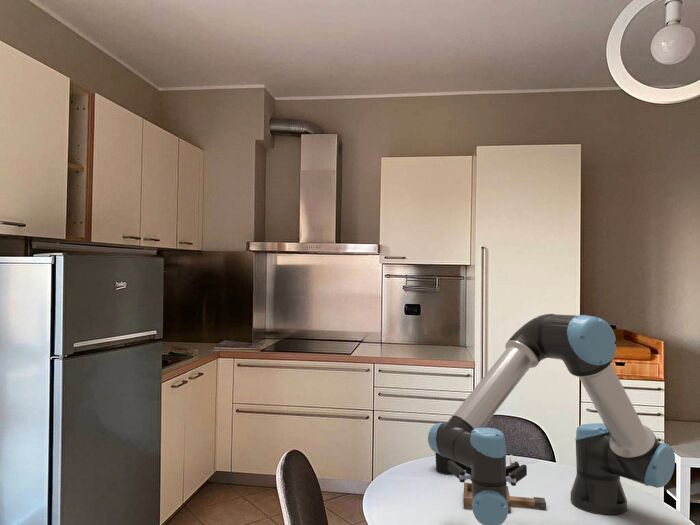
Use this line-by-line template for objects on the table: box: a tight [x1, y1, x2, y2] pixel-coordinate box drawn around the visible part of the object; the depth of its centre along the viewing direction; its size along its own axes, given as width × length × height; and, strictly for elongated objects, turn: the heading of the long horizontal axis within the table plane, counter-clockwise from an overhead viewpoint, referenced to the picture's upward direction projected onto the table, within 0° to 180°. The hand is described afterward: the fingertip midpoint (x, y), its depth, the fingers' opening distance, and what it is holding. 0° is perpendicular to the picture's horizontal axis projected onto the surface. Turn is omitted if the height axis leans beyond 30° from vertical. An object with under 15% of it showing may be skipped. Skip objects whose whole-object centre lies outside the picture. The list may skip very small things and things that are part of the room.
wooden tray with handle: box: [463, 482, 547, 514], centre depth 158 cm, size 23×13×3 cm, turn 77°
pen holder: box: [434, 452, 455, 475], centre depth 187 cm, size 9×9×10 cm
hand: (485, 458), depth 150 cm, fingers open, 13 cm apart
